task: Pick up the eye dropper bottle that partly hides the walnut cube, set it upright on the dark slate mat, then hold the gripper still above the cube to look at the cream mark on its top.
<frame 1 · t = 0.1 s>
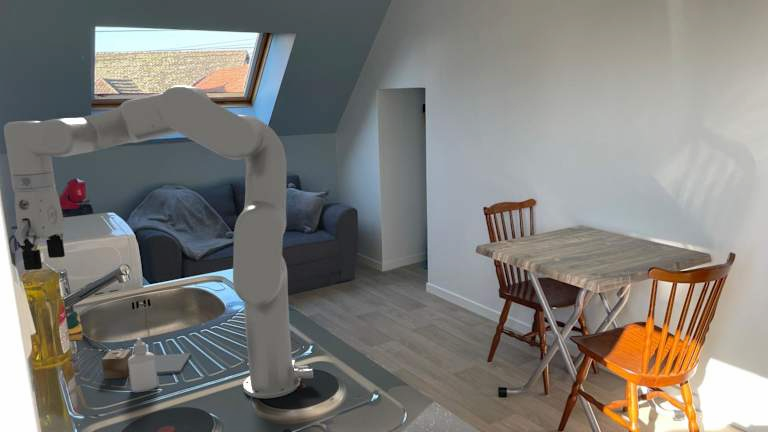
hand: (45, 263, 122), 31 cm above the counter, tool pointing down, fingers open, 9 cm apart
eye dropper bottle: (145, 389, 132), on the counter
walnut cube: (119, 373, 140), on the counter
slate mat: (165, 365, 144), on the counter
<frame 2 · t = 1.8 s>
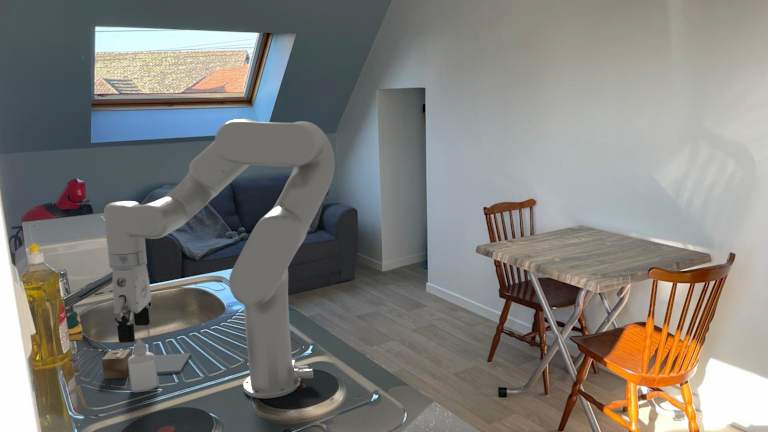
hand: (134, 333, 130), 13 cm above the counter, tool pointing down, fingers open, 9 cm apart
nothing on the counter moved.
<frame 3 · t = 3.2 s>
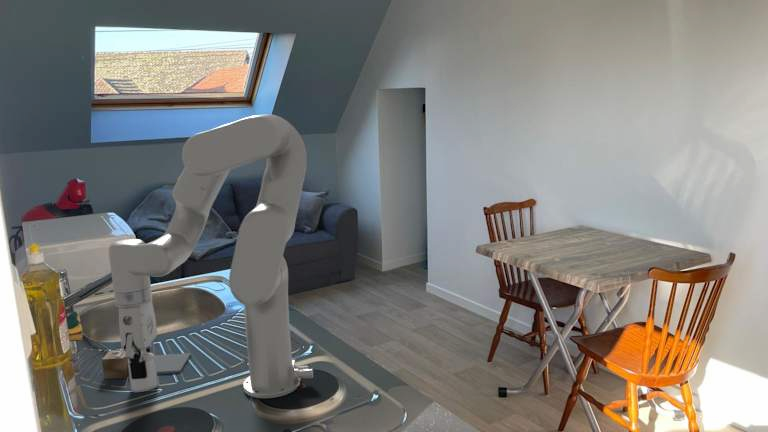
hand: (142, 372, 131), 4 cm above the counter, tool pointing down, fingers closed on eye dropper bottle, 3 cm apart
eye dropper bottle: (145, 389, 132), on the counter, touching gripper
everything else where it was.
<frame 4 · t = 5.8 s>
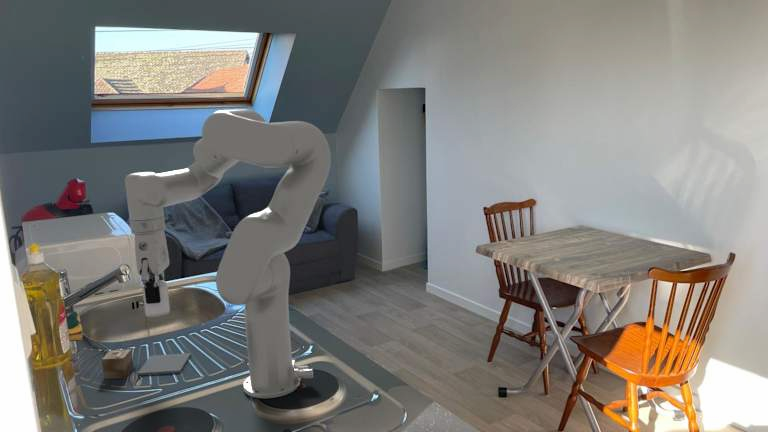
hand: (156, 299, 140), 17 cm above the counter, tool pointing down, fingers closed on eye dropper bottle, 3 cm apart
eye dropper bottle: (158, 314, 141), point 13 cm above the counter, touching gripper
everything else where it was.
when the fingers open (6 cm above the counter, at t = 8.2 s): eye dropper bottle drops 2 cm, resting on slate mat.
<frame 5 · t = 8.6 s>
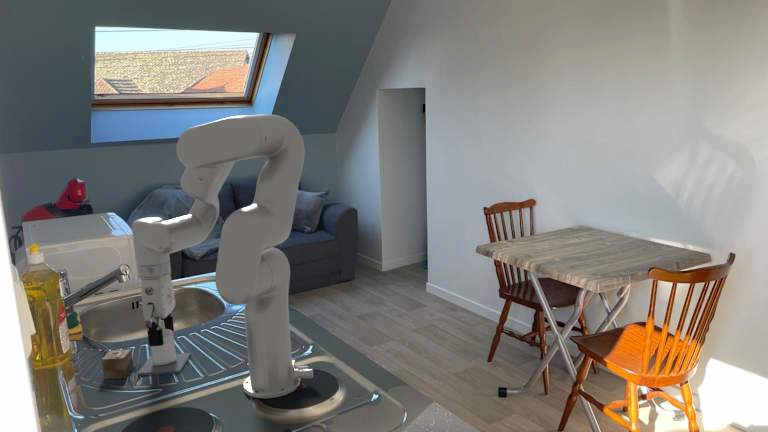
hand: (162, 338, 143), 7 cm above the counter, tool pointing down, fingers open, 8 cm apart
eye dropper bottle: (165, 363, 144), point 1 cm above the counter, touching slate mat
everything else where it was.
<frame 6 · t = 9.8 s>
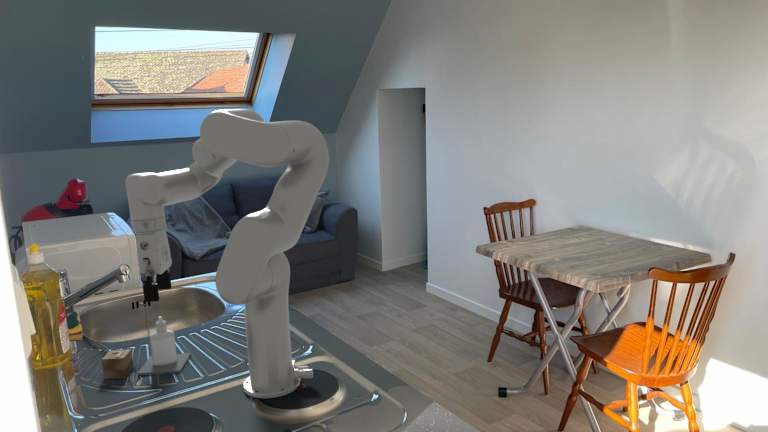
hand: (158, 294, 140), 18 cm above the counter, tool pointing down, fingers open, 9 cm apart
nothing on the counter moved.
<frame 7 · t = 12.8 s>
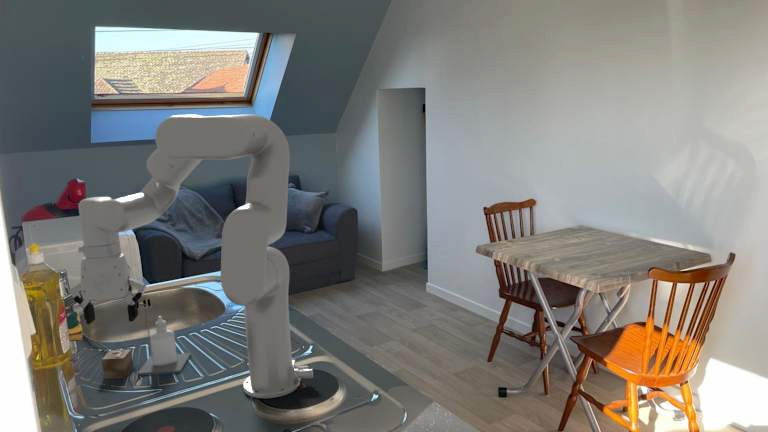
hand: (112, 320, 138), 13 cm above the counter, tool pointing down, fingers open, 9 cm apart
nothing on the counter moved.
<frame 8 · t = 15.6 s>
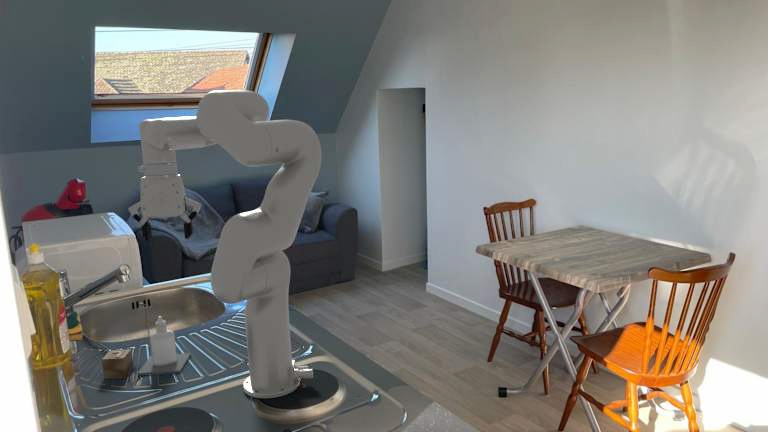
hand: (168, 238, 145), 30 cm above the counter, tool pointing down, fingers open, 9 cm apart
nothing on the counter moved.
at the end: eye dropper bottle inside the target area (0.1 cm from its centre), resting on slate mat; eye dropper bottle tilted 0°; walnut cube moved 0.1 cm from its start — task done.
